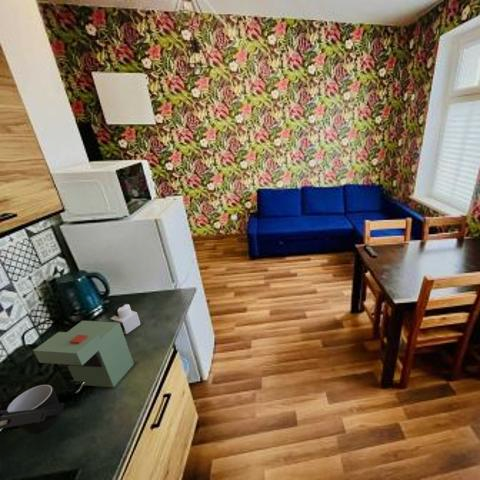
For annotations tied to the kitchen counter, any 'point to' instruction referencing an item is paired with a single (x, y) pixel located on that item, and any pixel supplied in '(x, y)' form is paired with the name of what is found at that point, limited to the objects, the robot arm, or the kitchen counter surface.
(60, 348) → the coffee machine
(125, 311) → the medicine bottle
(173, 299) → the kitchen counter surface
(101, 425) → the kitchen counter surface
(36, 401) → the mug
